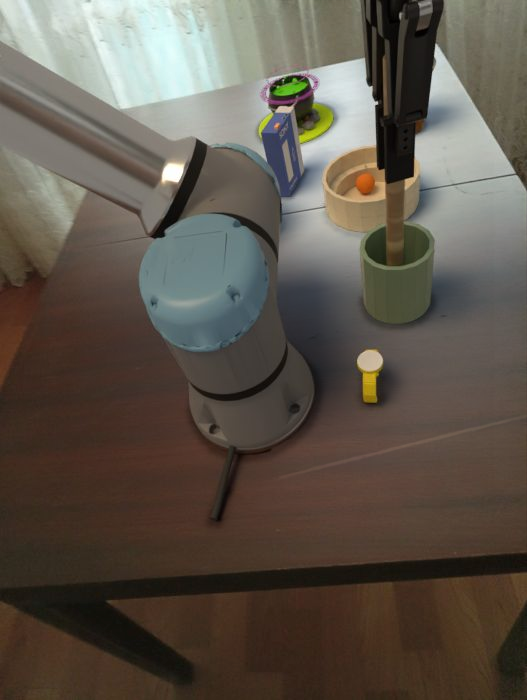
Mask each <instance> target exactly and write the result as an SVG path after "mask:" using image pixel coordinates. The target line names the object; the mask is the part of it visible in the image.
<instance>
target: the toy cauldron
mask: <svg viewBox="0 0 527 700" xmlns="http://www.w3.org/2000/svg"><path fill="white" fill-rule="evenodd" d="M289 62H290V60H287V63H289ZM284 63H286V61H283V64H284ZM280 65H281V63H279V64H276V65H275V67H274V69H273V71H274V72H276V73H281V70H282V69H284V68H286V66H284V67H281V68H280V69H281V70H278V66H280ZM290 67H292V68H291V71H293V70H294V69H295V68H297V67H301V65H300V64H298V62H297V61H296V60H294V64H293V65H292V64H291V65H290ZM302 68H304V69H305V70H306V73H299V69H297V70H296V72H297V73H292V74H286V75H284V76H281V77H278V78H275V79H273V80H272V81H270V82H269V78H270V76H271V75H273V72H271V73H270V74H269V76H267V79H265V80H266V84H265V85H264V86H263V87H262V89H261V90H260V92H259V97H260V99H261V100H262V101H263V102H265V103H267V105H268V106H267V109H269V110H270V111H271V113H270V114H269V115H267V116H266V117H265V118H264V119H263V120H262V121H261V122H260V124H259V125H258V126H259V127H258V135H259V137H260V139H262V136H261V132H262V130H263V129H264V127H265V126H266V125H267V123H268V122H269V120H270V119H271V117H272V116H273V115H274V113H275V111H276V110H277V109H278V107H280V106H287V107H294V110H295V116H296V122H297V129H298V135H299V141H300V145H301V144H303V143H304V144H305V143H307V142H309V141H312V140H314V139H317V138H319V137H320V136H321V135H323V134H324V133H326V132H327V131H328V130H329V129H330V128H331V126H332V124H333V122H334V114H333V111H332V110H331V109H330V108H329V107H328V106H325V105H323V104H320V103H314V101H315V92H316V91H317V90H318V89H319V88H320V84H321V81H320V80H319V78H318V77H316V75H314V74H311V73H309V72H310V70H309V68H308V67H306V65H305V66H304V65H303V66H302ZM284 73H287V70H284ZM310 79H311V81H312V82H313V86H312V85H311V81H310ZM267 91H268V92H269V93H268V96H267Z"/></svg>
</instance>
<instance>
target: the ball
mask: <svg viewBox="0 0 527 700" xmlns="http://www.w3.org/2000/svg"><path fill="white" fill-rule="evenodd" d="M374 186H375V180H374V178H373V176H372V175H370V174H362V175H360V176H359V177H358V178H357V181H356V188H357V190H358V191H359V192H361V193H369V192H371V191H372V190H373V188H374Z"/></svg>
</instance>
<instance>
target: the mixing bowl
mask: <svg viewBox="0 0 527 700" xmlns="http://www.w3.org/2000/svg"><path fill="white" fill-rule="evenodd" d="M420 165H421V163H420V161H419V160H418V158H417V157H416V156H415V159H414V177H412V178H408V179H405V210H404V221H407V220H408V219H409V218H410V217H411V216H412V215H413V214H414V213H415V212H416V209H417V208H418V205H419V203H420V185H421V184H420V181H421V180H420V179H421V166H420ZM362 174H370V175H372V176H373V178H374V180H375V186H374V188H373V190H372V191H371V192H369V193H361V192H359V191H358V190H357V188H356V181H357V178H358V177H359V176H360V175H362ZM321 183H322V192H323V199H324V206H325V211H326V214H327V217H328V219H330V221H332V222H333V223H334V224H335V225H336V226H338V227H339V228H342V229H345V230H347V231H353V232H359V233H367V232H368V231H370V230H371V229H373V228H375V227H376V226H378V225H381V224H384V223H386V207H385V169H382V170H379V169H378V168H377V154H376V144H373V145H364V146H360V147H357V148H353V149H350V150H348V151H346V152H343V153H342V154H340V155H338V156H336V157H335V158H334V159H332V161H330V162H329V163H328V164H327V165H326V168H325V169H324V170H323V172H322V178H321Z"/></svg>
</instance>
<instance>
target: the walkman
mask: <svg viewBox="0 0 527 700" xmlns="http://www.w3.org/2000/svg"><path fill="white" fill-rule="evenodd" d="M261 136H262V138H261V141H262V145H263V150H264V153H265V158H266V159H265V160H266V162H267V163H268V164H269V165H270V167H271V168H272V170H273V171H274V173H275V175H276V177H277V180H278V183H279V187H280V196H281V197H283V198H285V197H286V198H290V196H291V194H292V193H293V192H294V190H295V188H296V186H297V185H298V183H299V181H300V179H301V178H302V176H303V174H304V172H305V166H304V161H303V154H302V148H301V144H300V141H299V135H298V129H297V122H296V116H295V110H294V107H287V106H280V107H278V109H277V110H276V111H275V113H274V115H273V116H272V117H271V119H270V120H269V122H268V123H267V125H266V126H265V127H264V129H263V130H262V132H261Z"/></svg>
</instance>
